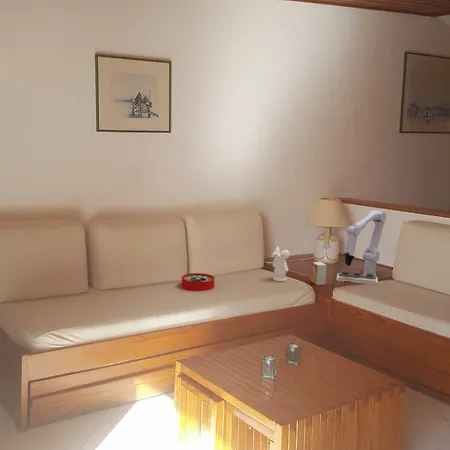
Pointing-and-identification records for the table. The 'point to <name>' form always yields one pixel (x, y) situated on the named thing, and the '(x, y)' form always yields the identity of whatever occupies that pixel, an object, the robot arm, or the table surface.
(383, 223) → the robot arm
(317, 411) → the table surface
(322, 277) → the small box
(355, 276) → the switch panel
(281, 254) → the cherub figurine
